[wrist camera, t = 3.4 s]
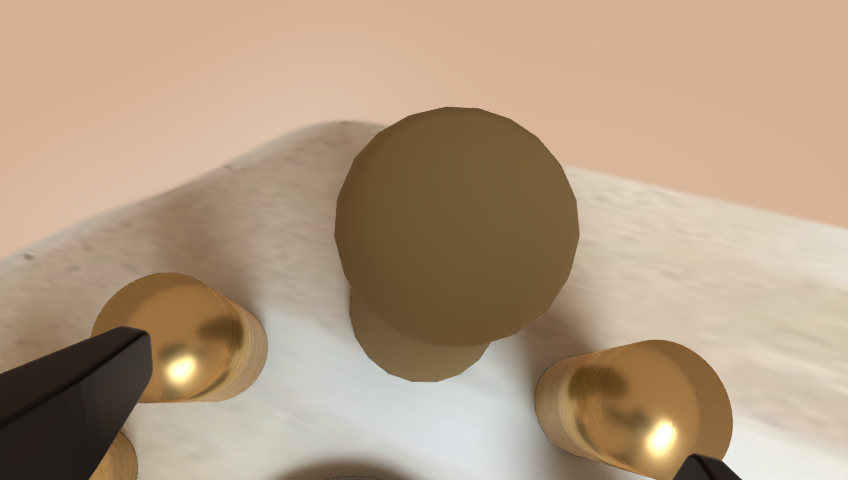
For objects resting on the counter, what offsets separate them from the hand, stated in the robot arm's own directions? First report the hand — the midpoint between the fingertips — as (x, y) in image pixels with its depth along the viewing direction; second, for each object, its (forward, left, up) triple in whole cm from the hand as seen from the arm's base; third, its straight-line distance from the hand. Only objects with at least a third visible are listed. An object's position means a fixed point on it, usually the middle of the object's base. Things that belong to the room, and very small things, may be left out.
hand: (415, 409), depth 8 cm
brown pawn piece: (+4, +2, -11) cm, 12 cm away
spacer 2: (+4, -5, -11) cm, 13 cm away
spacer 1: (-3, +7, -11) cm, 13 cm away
